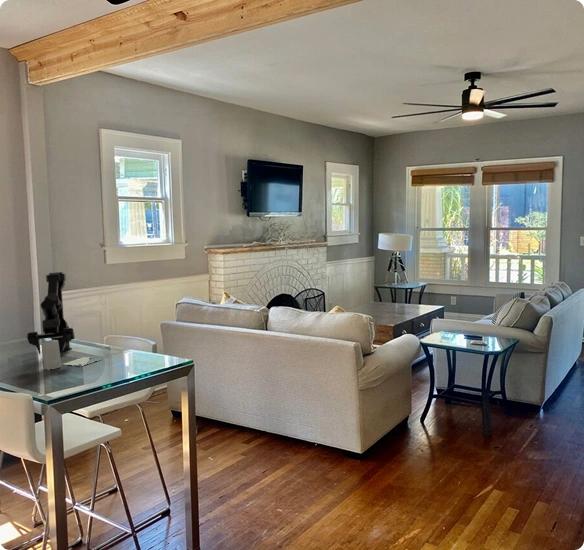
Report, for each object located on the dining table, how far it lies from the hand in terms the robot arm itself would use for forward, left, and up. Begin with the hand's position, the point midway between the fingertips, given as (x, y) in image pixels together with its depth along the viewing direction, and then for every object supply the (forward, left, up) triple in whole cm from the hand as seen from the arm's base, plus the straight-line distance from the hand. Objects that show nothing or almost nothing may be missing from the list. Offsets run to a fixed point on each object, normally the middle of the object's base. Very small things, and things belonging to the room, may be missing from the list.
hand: (50, 352), depth 238 cm
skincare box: (-1, -1, -8) cm, 8 cm away
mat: (-12, +5, -7) cm, 15 cm away
